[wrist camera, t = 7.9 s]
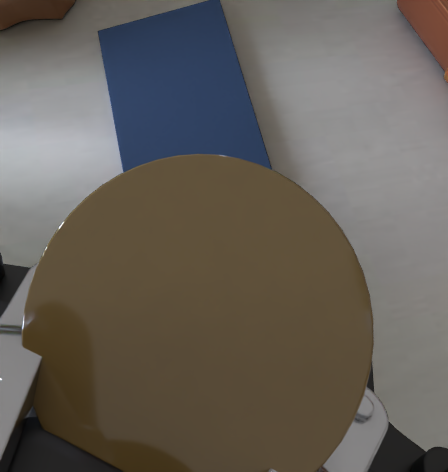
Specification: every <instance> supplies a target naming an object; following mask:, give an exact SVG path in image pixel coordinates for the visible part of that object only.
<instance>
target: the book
mask: <svg viewBox="0 0 448 472" xmlns="http://www.w3.org/2000/svg"><path fill="white" fill-rule="evenodd" d="M397 5H398V8H399V9H400V11H401V12H402V13H403V15H404V16H405V17H406V19H407V20H408V22H409V23H410V24H411V26H412V27H413V28H414V30H415V31H416V33H417V34H418V35H419V37H420V38H421V39H422V41H423V42H424V43H425V45H426V46H427V48H428V49H429V50H430V52H431V53H432V54H433V56H434V57H435V59H436V60H437V61H438V63H439V64H440V65H441V67H442V68H443V70H444V71H445V75H444V79H445V80H446V82H447V83H448V0H397Z"/></svg>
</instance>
